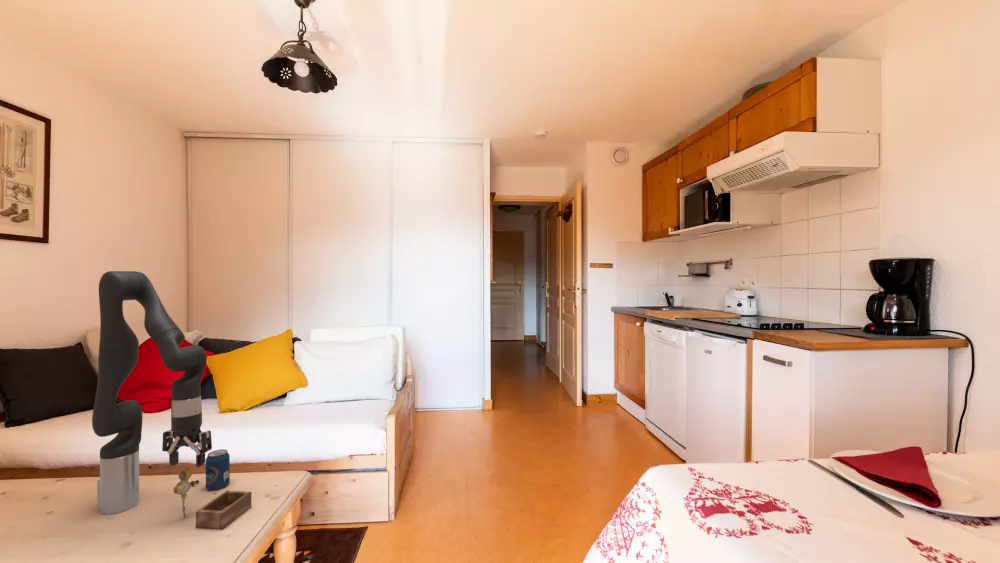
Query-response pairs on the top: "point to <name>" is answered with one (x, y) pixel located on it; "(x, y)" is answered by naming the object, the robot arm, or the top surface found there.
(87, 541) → the top surface
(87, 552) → the top surface
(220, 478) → the soda can
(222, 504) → the open wooden box
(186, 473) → the regulator
